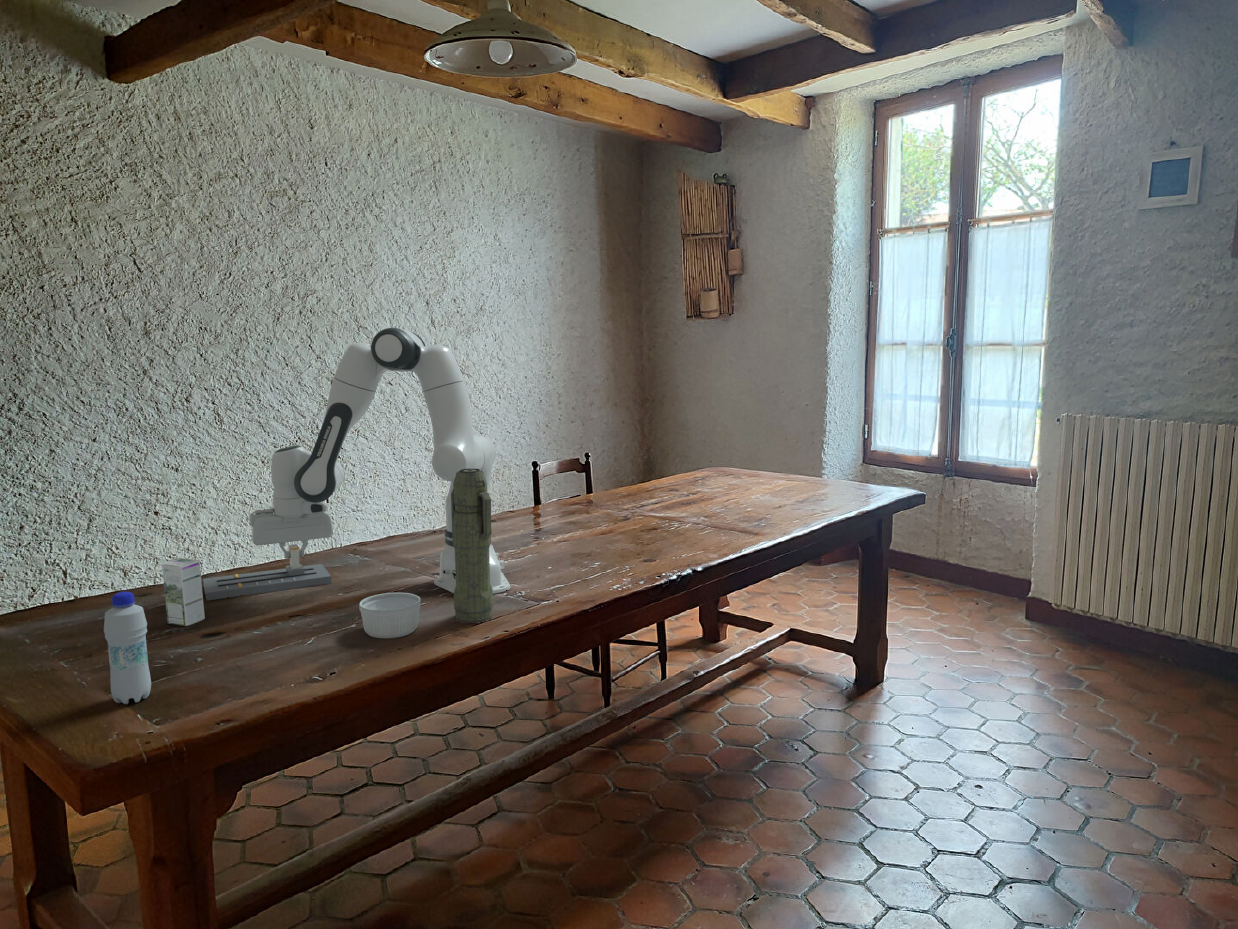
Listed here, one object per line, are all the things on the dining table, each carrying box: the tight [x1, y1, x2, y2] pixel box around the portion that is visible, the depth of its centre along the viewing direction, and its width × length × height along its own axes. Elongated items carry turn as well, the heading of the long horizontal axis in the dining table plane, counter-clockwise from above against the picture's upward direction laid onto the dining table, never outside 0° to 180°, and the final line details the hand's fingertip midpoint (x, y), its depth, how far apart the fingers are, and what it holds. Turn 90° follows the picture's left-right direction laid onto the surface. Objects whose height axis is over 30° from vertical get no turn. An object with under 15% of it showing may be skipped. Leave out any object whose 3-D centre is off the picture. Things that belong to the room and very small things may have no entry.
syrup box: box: [161, 557, 206, 627], centre depth 190 cm, size 6×6×14 cm
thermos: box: [451, 468, 494, 624], centre depth 191 cm, size 9×12×35 cm
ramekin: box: [358, 592, 422, 639], centre depth 185 cm, size 13×13×7 cm
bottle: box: [103, 591, 152, 705], centre depth 148 cm, size 7×7×20 cm
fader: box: [285, 543, 305, 576], centre depth 222 cm, size 5×4×8 cm
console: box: [202, 563, 332, 601], centre depth 219 cm, size 14×30×2 cm, turn 119°
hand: (294, 557), depth 222 cm, fingers closed on fader, 2 cm apart
